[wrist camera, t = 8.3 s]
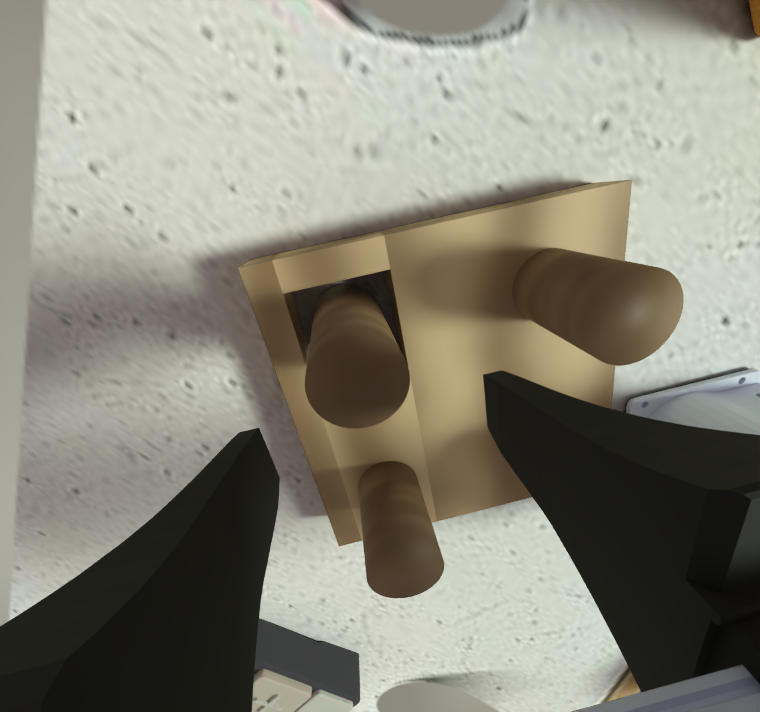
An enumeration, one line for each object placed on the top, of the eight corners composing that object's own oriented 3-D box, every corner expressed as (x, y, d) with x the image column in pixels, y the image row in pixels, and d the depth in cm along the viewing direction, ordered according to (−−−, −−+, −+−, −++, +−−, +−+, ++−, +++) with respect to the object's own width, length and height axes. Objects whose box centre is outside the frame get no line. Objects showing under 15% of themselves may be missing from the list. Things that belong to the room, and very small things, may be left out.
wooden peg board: (593, 182, 18) (769, 169, 11) (580, 453, 26) (679, 553, 18) (250, 259, 18) (192, 299, 10) (338, 514, 25) (341, 643, 18)
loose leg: (372, 276, 19) (400, 323, 11) (385, 338, 20) (417, 415, 13) (305, 292, 19) (290, 348, 11) (323, 353, 20) (320, 438, 13)
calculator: (191, 650, 24) (363, 713, 28) (214, 587, 28) (361, 651, 32) (112, 730, 26) (281, 776, 31) (143, 662, 30) (289, 712, 35)
